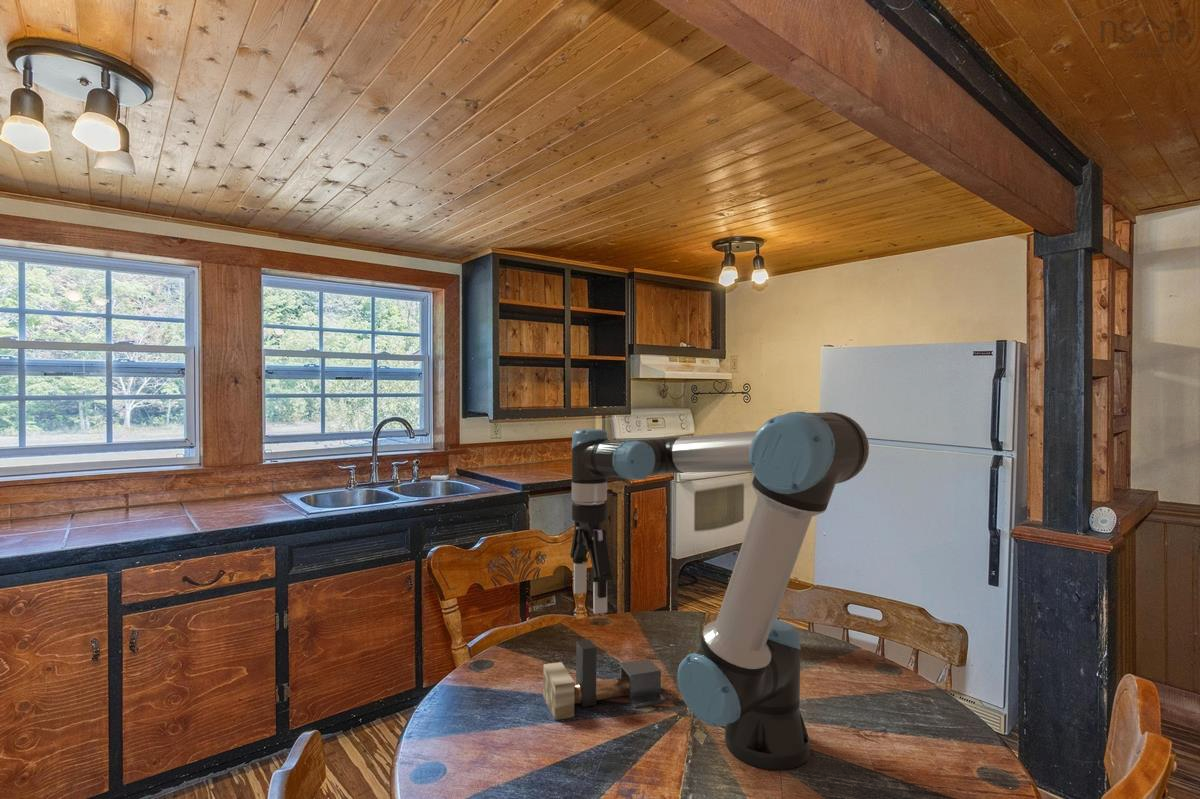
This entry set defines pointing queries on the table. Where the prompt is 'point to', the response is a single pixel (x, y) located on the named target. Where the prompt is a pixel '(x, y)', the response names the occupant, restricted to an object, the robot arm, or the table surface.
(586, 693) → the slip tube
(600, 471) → the robot arm
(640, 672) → the grey block
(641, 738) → the table surface
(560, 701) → the socket block
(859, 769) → the table surface
